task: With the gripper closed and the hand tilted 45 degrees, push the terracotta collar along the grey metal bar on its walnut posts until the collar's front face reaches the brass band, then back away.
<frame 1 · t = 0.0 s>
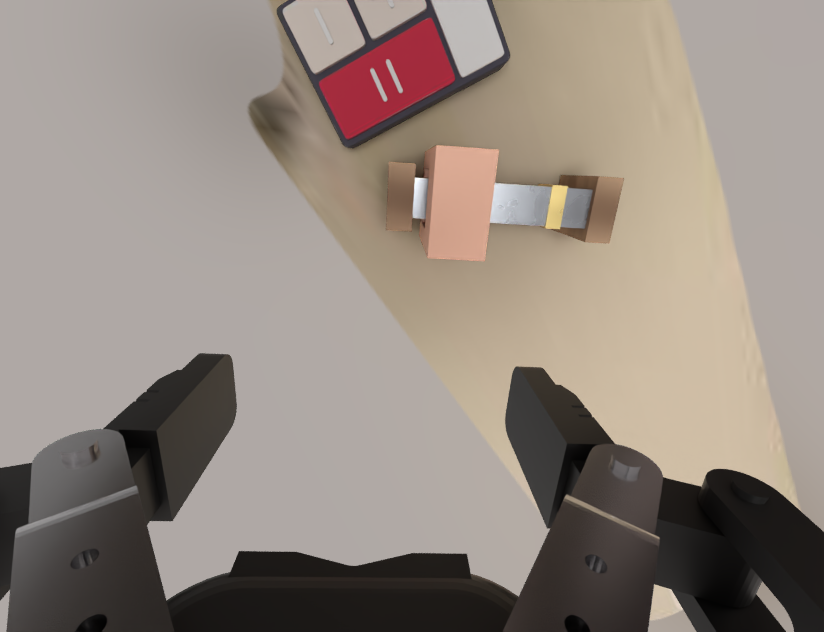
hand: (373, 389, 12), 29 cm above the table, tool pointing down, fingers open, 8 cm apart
grey metal bar: (497, 202, 33), point 6 cm above the table
stand: (483, 198, 38), on the table
calculator: (396, 46, 34), on the table
collar: (451, 200, 32), point 7 cm above the table, slide at 0.0 cm
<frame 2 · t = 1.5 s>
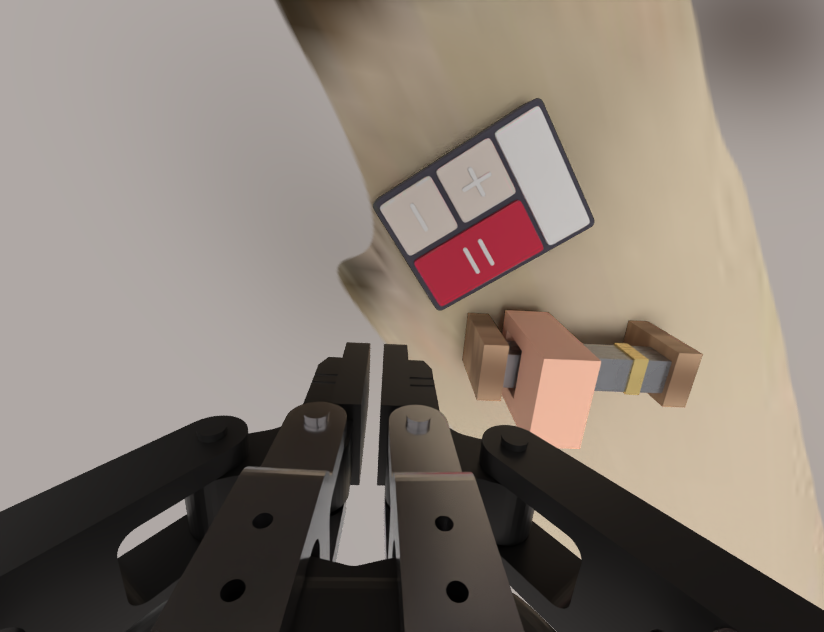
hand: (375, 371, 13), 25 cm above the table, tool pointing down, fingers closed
grey metal bar: (578, 366, 35), point 6 cm above the table
stand: (554, 340, 40), on the table
calculator: (477, 209, 36), on the table
collar: (538, 372, 33), point 7 cm above the table, slide at 0.0 cm
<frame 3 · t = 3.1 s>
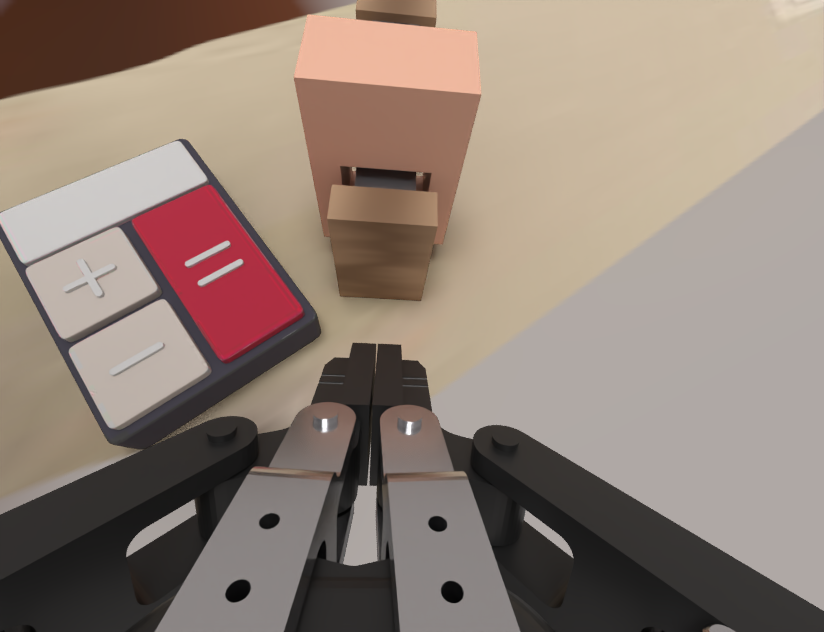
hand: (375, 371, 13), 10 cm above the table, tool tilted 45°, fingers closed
grey metal bar: (390, 120, 24), point 6 cm above the table
stand: (387, 186, 29), on the table
calculator: (181, 296, 25), on the table
collar: (387, 151, 21), point 7 cm above the table, slide at 0.0 cm
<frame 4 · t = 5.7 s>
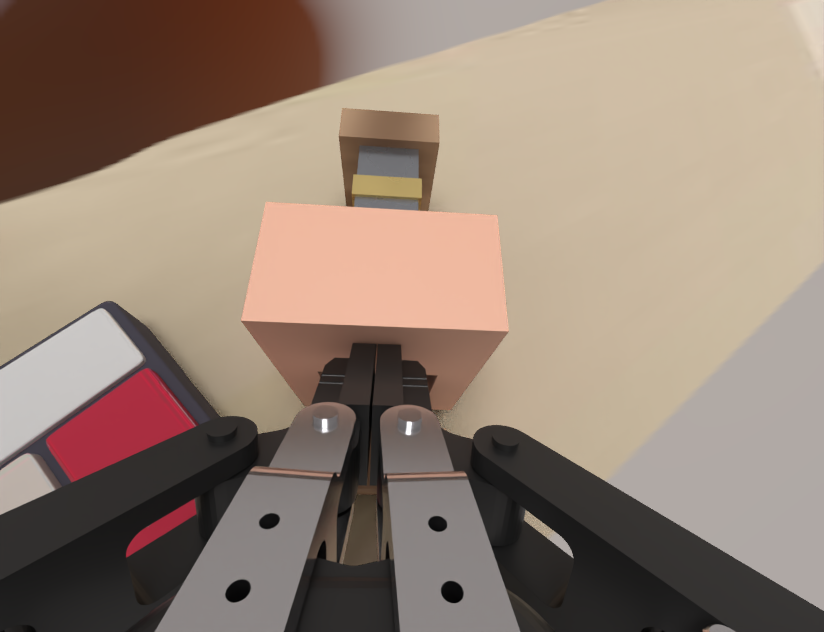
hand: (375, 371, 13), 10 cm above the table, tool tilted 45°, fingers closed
grey metal bar: (383, 281, 19), point 6 cm above the table
stand: (382, 328, 24), on the table
calculator: (127, 499, 20), on the table
collar: (380, 331, 16), point 7 cm above the table, slide at 0.9 cm, touching gripper
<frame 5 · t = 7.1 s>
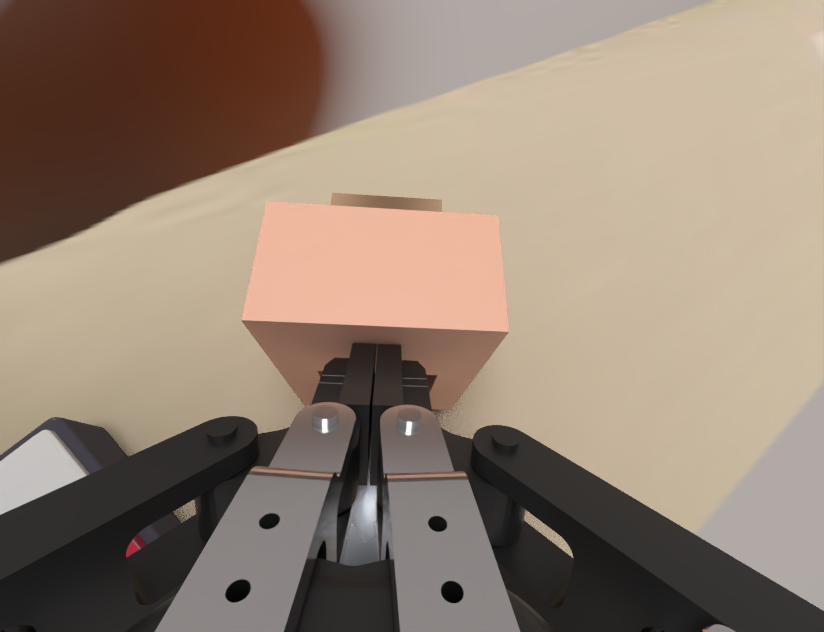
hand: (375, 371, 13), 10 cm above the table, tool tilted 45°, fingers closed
grey metal bar: (377, 401, 17), point 6 cm above the table
stand: (377, 425, 22), on the table
collar: (380, 330, 16), point 7 cm above the table, slide at 6.5 cm, touching gripper
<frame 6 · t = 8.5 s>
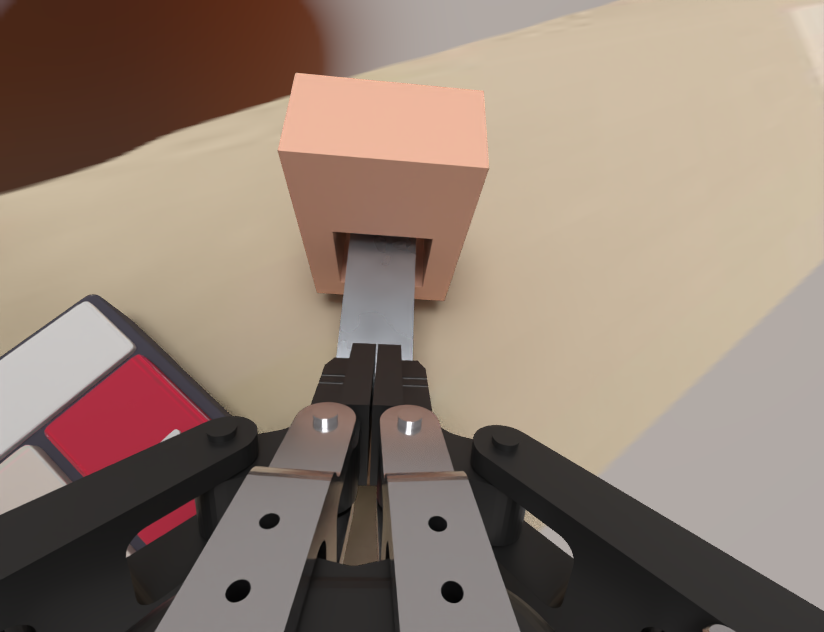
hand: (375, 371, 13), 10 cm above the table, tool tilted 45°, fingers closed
grey metal bar: (381, 276, 19), point 6 cm above the table
calculator: (130, 486, 20), on the table
collar: (385, 210, 19), point 7 cm above the table, slide at 6.8 cm
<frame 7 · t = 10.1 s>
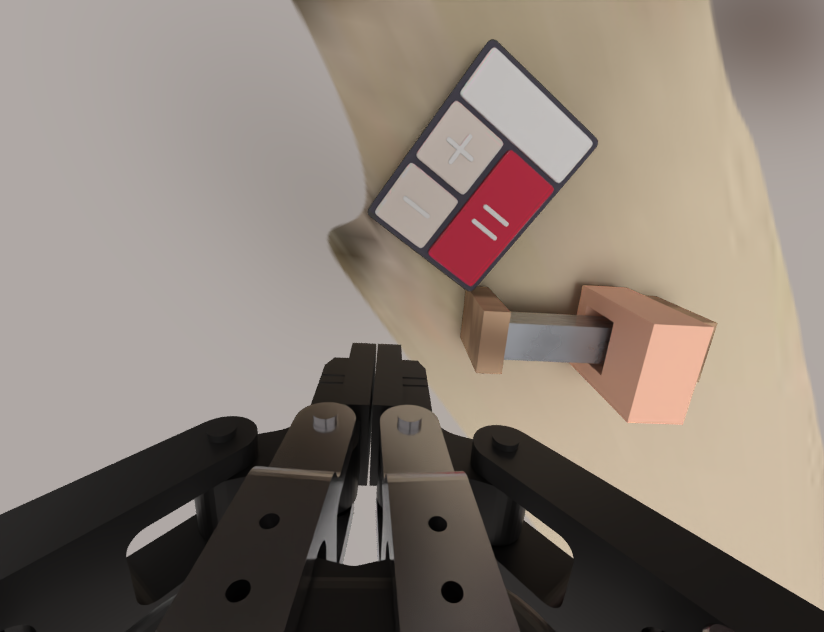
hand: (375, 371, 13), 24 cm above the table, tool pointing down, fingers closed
grey metal bar: (584, 338, 33), point 6 cm above the table
stand: (557, 316, 38), on the table
calculator: (472, 177, 34), on the table
collar: (627, 347, 32), point 7 cm above the table, slide at 6.8 cm
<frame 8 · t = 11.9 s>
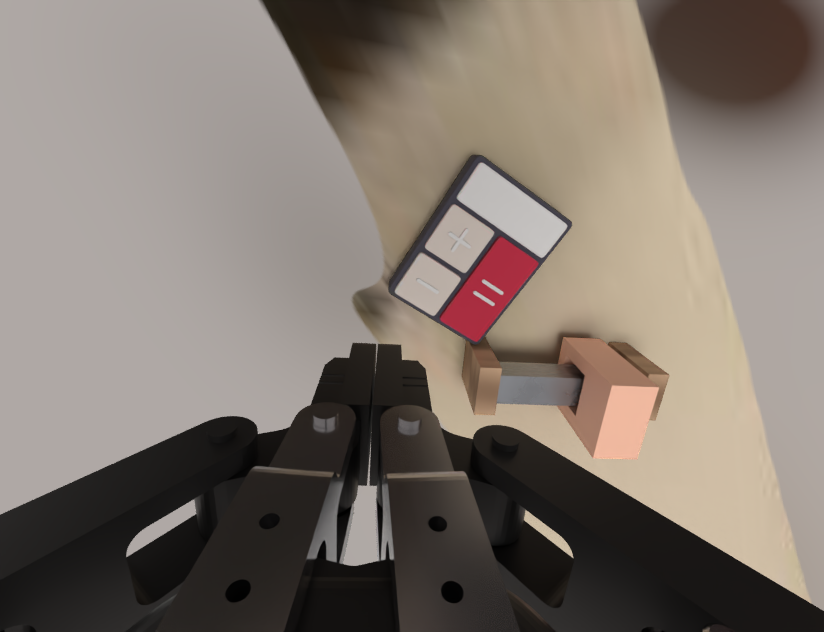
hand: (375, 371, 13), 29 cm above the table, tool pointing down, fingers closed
grey metal bar: (562, 384, 40), point 6 cm above the table
stand: (543, 359, 45), on the table
calculator: (471, 250, 41), on the table
collar: (596, 392, 39), point 7 cm above the table, slide at 6.8 cm
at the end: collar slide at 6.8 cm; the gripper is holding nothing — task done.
